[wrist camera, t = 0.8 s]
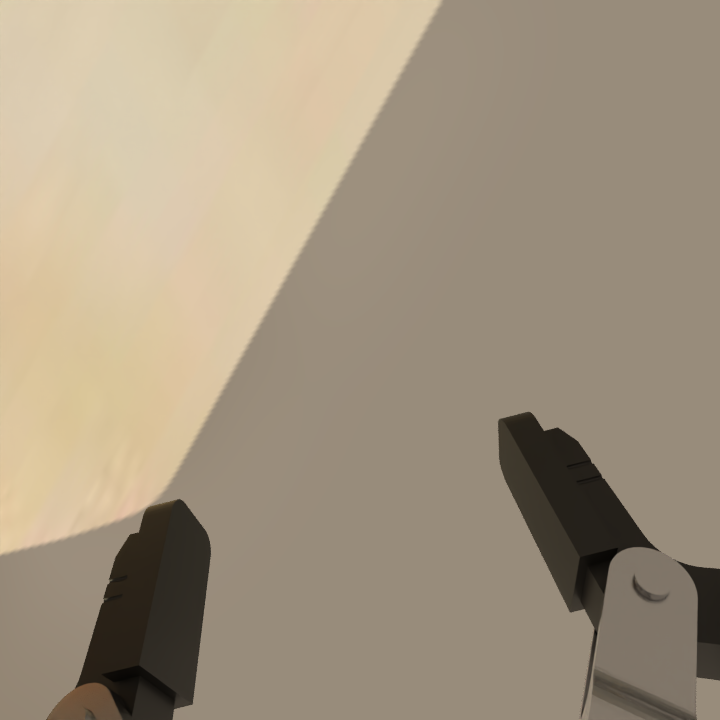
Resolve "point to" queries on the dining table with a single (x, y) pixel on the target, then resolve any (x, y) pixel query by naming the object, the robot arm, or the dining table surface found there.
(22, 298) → the dining table surface
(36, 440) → the dining table surface
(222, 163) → the dining table surface
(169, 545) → the robot arm
